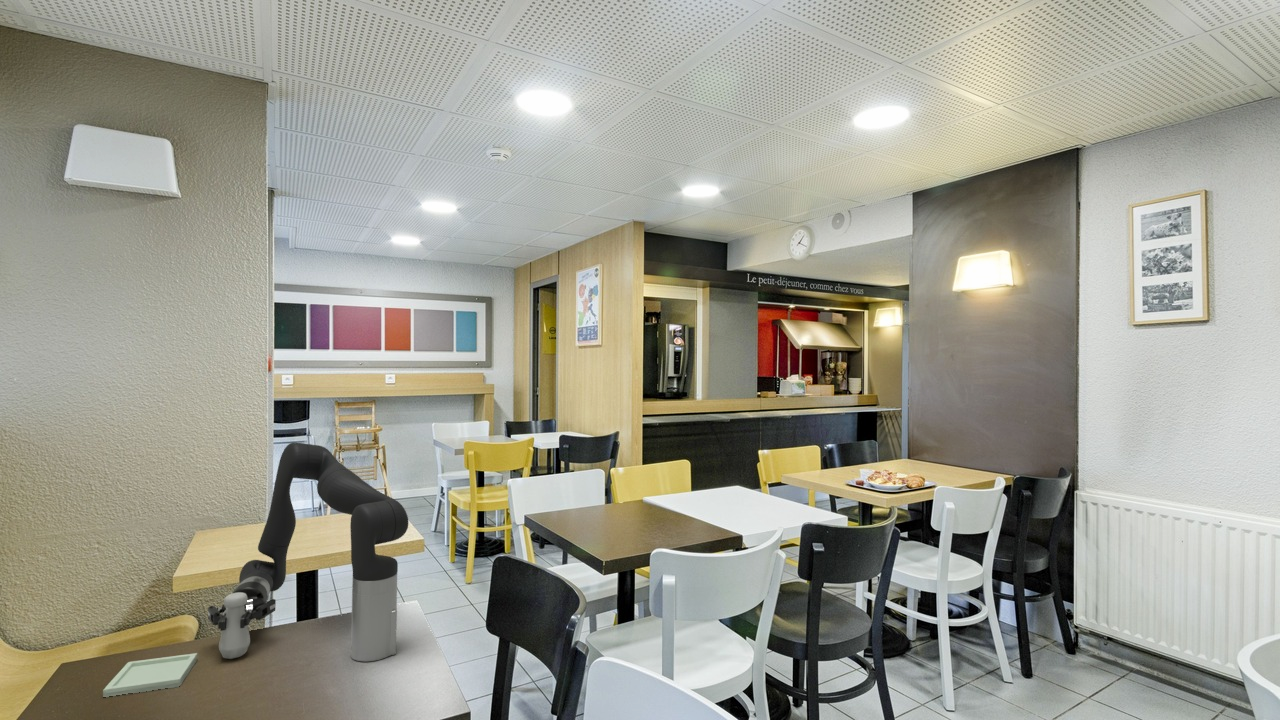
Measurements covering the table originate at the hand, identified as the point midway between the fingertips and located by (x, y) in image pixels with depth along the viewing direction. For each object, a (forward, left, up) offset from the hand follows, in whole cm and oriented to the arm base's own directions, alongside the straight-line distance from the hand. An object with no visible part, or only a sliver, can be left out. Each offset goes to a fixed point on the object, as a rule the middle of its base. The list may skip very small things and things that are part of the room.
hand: (232, 624), depth 131 cm
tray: (+13, +2, -8) cm, 15 cm away
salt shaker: (0, -3, -8) cm, 8 cm away
